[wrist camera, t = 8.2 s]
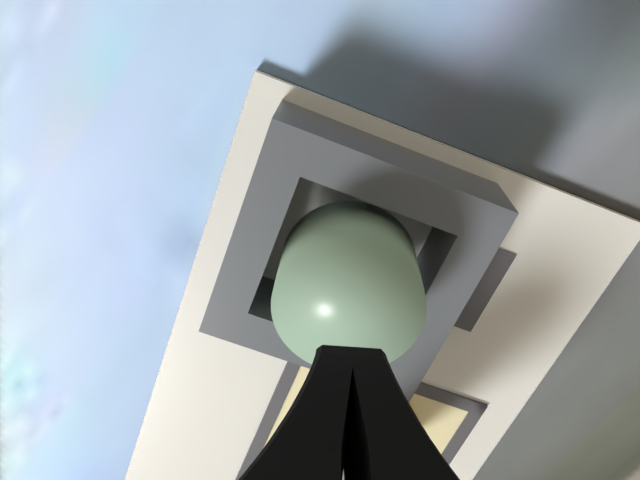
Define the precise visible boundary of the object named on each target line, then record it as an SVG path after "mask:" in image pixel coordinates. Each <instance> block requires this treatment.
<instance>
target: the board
mask: <svg viewBox="0 0 640 480" xmlns="http://www.w3.org/2000/svg"><path fill="white" fill-rule="evenodd" d="M282 100H285V101H287V102H290V103H293V104H295V105H298V106H300V107H303V108H305V109H308V110H311V111H313V112H316V113H318V114H321V115H323V116H326V117H328V118H331V119H334V120H336V121H339V122H341V123H344V124H346V125H349V126H352V127H354V128H357V129H359V130H362V131H364V132H367V133H369V134H372V135H375V136H377V137H380V138H382V139H385V140H387V141H390V142H393V143H395V144H398V145H400V146H403V147H405V148H408V149H411V150H413V151H416V152H418V153H421V154H423V155H426V156H428V157H431V158H434V159H436V160H439V161H441V162H444V163H446V164H449V165H452V166H454V167H457V168H459V169H462V170H464V171H467V172H469V173H472V174H475V175H477V176H480V177H482V178H485V179H487V180H490V181H493V182H495V183H498V185H499V186H500V187H501V189H502V190H503V192H504V193H505V194H506V196H507V197H508V199H509V200H510V202H511V203H512V204H513V206H514V207H515V209H516V210H517V211H518V213H519V214H518V216H517V218H516V219H515V221H514V223H513V225H512V226H511V228H510V230H509V231H508V233H507V235H506V237H505V238H504V240H503V242H502V243H501V245H500V247H499V249H498V250H497V252H496V254H495V255H494V257H493V259H492V261H491V262H490V264H489V266H488V268H487V269H486V271H485V273H484V274H483V276H482V278H481V280H480V281H479V283H478V285H477V286H476V288H475V290H474V292H473V293H472V295H471V297H470V299H469V300H468V302H467V304H466V305H465V307H464V309H463V311H462V312H461V314H460V316H459V317H458V319H457V321H456V323H455V324H454V326H453V328H452V330H451V331H450V333H449V335H448V336H447V338H446V340H445V342H444V343H443V345H442V347H441V348H440V350H439V352H438V354H437V355H436V357H435V359H434V360H433V362H432V364H431V366H430V367H429V369H428V371H427V373H426V374H425V376H424V378H423V379H422V381H421V383H420V385H419V386H418V388H417V390H416V391H415V393H414V395H413V397H412V398H411V400H410V404H411V406H412V409H413V411H414V413H415V414H416V416H417V418H418V419H419V421H420V423H421V425H422V426H423V428H424V429H425V431H426V432H427V434H428V436H429V437H430V439H431V440H432V442H433V443H434V444H435V446H436V447H437V449H438V450H439V452H440V453H441V455H442V456H443V458H444V459H445V460H446V462H447V463H448V464H449V466H450V467H451V469H452V470H453V471H454V472H455V474H456V475H457V476H458V478H459V479H460V480H472V479H473V478H474V476H475V475H476V473H477V472H478V470H479V469H480V468H481V466H482V465H483V463H484V462H485V460H486V459H487V458H488V456H489V455H490V453H491V452H492V450H493V449H494V448H495V446H496V445H497V443H498V442H499V440H500V439H501V438H502V436H503V435H504V433H505V432H506V430H507V429H508V428H509V426H510V425H511V423H512V422H513V420H514V419H515V418H516V416H517V415H518V413H519V412H520V410H521V409H522V407H523V406H524V405H525V403H526V402H527V400H528V399H529V397H530V396H531V395H532V393H533V392H534V390H535V389H536V387H537V386H538V385H539V383H540V382H541V380H542V379H543V377H544V376H545V375H546V373H547V372H548V370H549V369H550V367H551V366H552V365H553V363H554V362H555V360H556V359H557V357H558V356H559V355H560V353H561V352H562V350H563V349H564V347H565V346H566V345H567V343H568V342H569V340H570V339H571V337H572V336H573V335H574V333H575V332H576V330H577V329H578V327H579V326H580V325H581V323H582V322H583V320H584V319H585V317H586V316H587V315H588V313H589V312H590V310H591V309H592V307H593V306H594V305H595V303H596V302H597V300H598V299H599V297H600V296H601V295H602V293H603V292H604V290H605V289H606V287H607V286H608V285H609V283H610V282H611V280H612V279H613V277H614V276H615V274H616V273H617V272H618V270H619V269H620V267H621V266H622V264H623V263H624V262H625V260H626V259H627V257H628V256H629V254H630V253H631V252H632V250H633V249H634V247H635V246H636V244H637V243H638V242H639V240H640V221H639V220H637V219H634V218H632V217H629V216H627V215H624V214H622V213H619V212H617V211H614V210H611V209H609V208H606V207H604V206H601V205H599V204H596V203H594V202H591V201H589V200H586V199H584V198H581V197H578V196H576V195H573V194H571V193H568V192H566V191H563V190H561V189H558V188H556V187H553V186H551V185H548V184H545V183H543V182H540V181H538V180H535V179H533V178H530V177H528V176H525V175H523V174H520V173H518V172H515V171H512V170H510V169H507V168H505V167H502V166H500V165H497V164H495V163H492V162H490V161H487V160H485V159H482V158H479V157H477V156H474V155H472V154H469V153H467V152H464V151H462V150H459V149H457V148H454V147H452V146H449V145H446V144H444V143H441V142H439V141H436V140H434V139H431V138H429V137H426V136H424V135H421V134H419V133H416V132H414V131H411V130H408V129H406V128H403V127H401V126H398V125H396V124H393V123H391V122H388V121H386V120H383V119H381V118H378V117H375V116H373V115H370V114H368V113H365V112H363V111H360V110H358V109H355V108H353V107H350V106H348V105H345V104H342V103H340V102H337V101H335V100H332V99H330V98H327V97H325V96H322V95H320V94H317V93H315V92H312V91H309V90H307V89H304V88H302V87H299V86H297V85H294V84H292V83H289V82H287V81H284V80H282V79H279V78H276V77H274V76H271V75H269V74H266V73H264V72H261V71H259V70H255V72H254V75H253V78H252V81H251V84H250V87H249V91H248V94H247V97H246V100H245V103H244V106H243V109H242V113H241V116H240V119H239V122H238V125H237V128H236V131H235V135H234V138H233V141H232V144H231V147H230V150H229V153H228V157H227V160H226V163H225V166H224V169H223V172H222V175H221V179H220V182H219V185H218V188H217V191H216V194H215V197H214V201H213V204H212V207H211V210H210V213H209V216H208V219H207V223H206V226H205V229H204V232H203V235H202V238H201V241H200V245H199V248H198V251H197V254H196V257H195V260H194V263H193V267H192V270H191V273H190V276H189V279H188V282H187V285H186V289H185V292H184V295H183V298H182V301H181V304H180V307H179V311H178V314H177V317H176V320H175V323H174V326H173V329H172V333H171V336H170V339H169V342H168V345H167V348H166V351H165V355H164V358H163V361H162V364H161V367H160V370H159V373H158V377H157V380H156V383H155V386H154V389H153V392H152V395H151V399H150V402H149V405H148V408H147V411H146V414H145V417H144V421H143V424H142V427H141V430H140V433H139V436H138V439H137V443H136V446H135V449H134V452H133V455H132V458H131V461H130V465H129V468H128V471H127V474H126V477H125V480H238V479H239V478H240V477H241V476H242V475H243V474H244V472H245V471H246V470H247V469H248V467H249V466H250V465H251V464H252V462H253V461H254V460H255V459H256V457H257V456H258V455H259V453H260V452H261V451H262V449H263V448H264V447H265V445H266V444H267V443H268V441H269V440H270V438H271V437H272V435H273V434H274V432H275V431H276V429H277V428H278V426H279V425H280V423H281V422H282V420H283V419H284V417H285V415H286V414H287V412H288V411H289V409H290V407H291V405H292V404H293V402H294V400H295V398H296V396H297V395H298V393H299V391H300V389H301V387H302V385H303V383H304V381H305V379H306V377H307V375H308V373H309V370H310V369H309V368H306V367H303V366H300V365H297V364H294V363H291V362H288V361H285V360H282V359H279V358H276V357H273V356H270V355H267V354H264V353H261V352H258V351H255V350H252V349H249V348H246V347H243V346H240V345H237V344H234V343H231V342H228V341H225V340H222V339H219V338H216V337H213V336H210V335H207V334H204V333H202V332H199V329H200V326H201V323H202V320H203V317H204V314H205V311H206V309H207V306H208V303H209V300H210V297H211V294H212V291H213V288H214V285H215V282H216V279H217V276H218V274H219V271H220V268H221V265H222V262H223V259H224V256H225V253H226V250H227V247H228V244H229V242H230V239H231V236H232V233H233V230H234V227H235V224H236V221H237V218H238V215H239V212H240V210H241V207H242V204H243V201H244V198H245V195H246V192H247V189H248V186H249V183H250V180H251V177H252V175H253V172H254V169H255V166H256V163H257V160H258V157H259V154H260V151H261V148H262V145H263V143H264V140H265V137H266V134H267V131H268V128H269V125H270V122H271V119H272V117H273V115H274V113H275V112H276V110H277V108H278V106H279V104H280V102H281V101H282ZM339 201H358V202H364V203H368V204H371V203H369V202H366V201H363V200H361V199H358V198H355V197H353V196H350V195H347V194H345V193H342V192H339V191H337V190H334V189H331V188H329V187H326V186H323V185H321V184H318V183H315V182H313V181H310V180H307V179H305V178H302V177H300V179H299V181H298V184H297V186H296V189H295V192H294V194H293V197H292V199H291V202H290V205H289V207H288V210H287V212H286V215H285V218H284V220H283V223H282V225H281V228H280V231H279V233H278V236H277V239H276V241H275V244H274V246H273V249H272V252H271V254H270V257H269V259H268V262H267V265H266V267H265V270H264V272H263V275H262V276H264V277H267V278H270V279H273V280H275V279H276V275H277V271H278V267H279V263H280V259H281V255H282V250H283V247H284V244H285V240H286V238H287V236H288V234H289V232H290V231H291V229H292V228H293V226H294V225H295V224H296V223H297V222H298V221H299V220H300V219H301V218H302V217H303V216H305V215H306V214H307V213H309V212H311V211H312V210H314V209H316V208H318V207H320V206H323V205H326V204H329V203H333V202H339ZM371 205H374V204H371ZM375 206H377V205H375ZM377 207H379V206H377ZM379 208H381V209H383V210H385V211H387V212H388V213H390V214H391V215H393V216H394V217H395V218H396V219H397V220H398V221H399V222H400V223H401V224H402V225H403V226H404V228H405V229H406V230H407V232H408V234H409V236H410V238H411V239H412V242H413V245H414V249H415V253H416V257H417V256H418V254H419V253H420V251H421V249H422V247H423V245H424V243H425V241H426V239H427V237H428V235H429V233H430V231H431V229H432V227H433V226H430V225H427V224H425V223H422V222H419V221H417V220H414V219H411V218H409V217H406V216H403V215H401V214H398V213H395V212H393V211H390V210H387V209H385V208H382V207H379Z"/></svg>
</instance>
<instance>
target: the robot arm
mask: <svg viewBox="0 0 640 480" xmlns="http://www.w3.org/2000/svg"><path fill="white" fill-rule="evenodd" d="M343 469H344V480H460V479H459V478H458V476H457V475H456V474H455V472H454V471H453V470H452V469H451V467H450V466H449V464H448V463H447V462H446V460H445V459H444V458H443V456H442V455H441V453H440V452H439V450H438V449H437V447H436V446H435V444H434V443H433V442H432V440H431V439H430V437H429V436H428V434H427V432H426V431H425V429H424V428H423V426H422V425H421V423H420V421H419V419H418V418H417V416H416V414H415V413H414V411H413V409H412V408H411V406H410V404H409V402H408V401H407V399H406V397H405V395H404V393H403V391H402V389H401V387H400V386H399V384H398V382H397V380H396V377H395V375H394V373H393V371H392V369H391V367H390V364H389V362H388V359H387V356H386V354H385V353H384V352H383V350H382V349H378V348H363V347H349V346H334V345H321V346H320V347H318V348H317V349H316V353H315V357H314V360H313V363H312V366H311V368H310V370H309V373H308V375H307V377H306V379H305V381H304V383H303V385H302V387H301V389H300V391H299V393H298V395H297V396H296V398H295V400H294V402H293V404H292V405H291V407H290V409H289V411H288V412H287V414H286V415H285V417H284V419H283V420H282V422H281V423H280V425H279V426H278V428H277V429H276V431H275V432H274V434H273V435H272V437H271V438H270V440H269V441H268V443H267V444H266V445H265V447H264V448H263V449H262V451H261V452H260V453H259V455H258V456H257V457H256V459H255V460H254V461H253V462H252V464H251V465H250V466H249V467H248V469H247V470H246V471H245V472H244V474H243V475H242V476H241V477H240V478H239V479H238V480H342V477H343Z"/></svg>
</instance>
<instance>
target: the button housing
mask: <svg viewBox="0 0 640 480" xmlns="http://www.w3.org/2000/svg"><path fill="white" fill-rule="evenodd" d="M300 177H302V178H305V179H307V180H310V181H313V182H315V183H318V184H321V185H323V186H326V187H329V188H331V189H334V190H337V191H339V192H342V193H345V194H347V195H350V196H353V197H355V198H358V199H361V200H363V201H366V202H369V203H371V204H374V205H377V206H379V207H382V208H385V209H387V210H390V211H393V212H395V213H398V214H401V215H403V216H406V217H409V218H411V219H414V220H417V221H419V222H422V223H425V224H427V225H430V226H433V227H432V229H431V231H430V233H429V235H428V237H427V239H426V241H425V243H424V245H423V247H422V249H421V251H420V253H419V254H418V256H417V261H418V265H419V270H420V274H421V278H422V282H423V286H424V291H425V296H426V303H427V311H426V318H425V322H424V325H423V328H422V330H421V332H420V335H419V336H418V338H417V339H416V341H415V342H414V344H413V345H412V346H411V347H410V348H409V349H408V350H407V351H406V352H405V353H404V354H403V355H402V356H400V357H399V358H397V359H396V360H394V361H393V362H391V363H389V364H390V367H391V369H392V371H393V373H394V375H395V377H396V380H397V382H398V384H399V386H400V387H401V389H402V391H403V393H404V395H405V397H406V399H407V401H408V402H410V400H411V398H412V397H413V395H414V393H415V391H416V390H417V388H418V386H419V385H420V383H421V381H422V379H423V378H424V376H425V374H426V373H427V371H428V369H429V367H430V366H431V364H432V362H433V360H434V359H435V357H436V355H437V354H438V352H439V350H440V348H441V347H442V345H443V343H444V342H445V340H446V338H447V336H448V335H449V333H450V331H451V330H452V328H453V326H454V324H455V323H456V321H457V319H458V317H459V316H460V314H461V312H462V311H463V309H464V307H465V305H466V304H467V302H468V300H469V299H470V297H471V295H472V293H473V292H474V290H475V288H476V286H477V285H478V283H479V281H480V280H481V278H482V276H483V274H484V273H485V271H486V269H487V268H488V266H489V264H490V262H491V261H492V259H493V257H494V255H495V254H496V252H497V250H498V249H499V247H500V245H501V243H502V242H503V240H504V238H505V237H506V235H507V233H508V231H509V230H510V228H511V226H512V225H513V223H514V221H515V219H516V218H517V216H518V214H519V213H518V211H517V210H516V209H515V207H514V206H513V204H512V203H511V202H510V200H509V199H508V197H507V196H506V194H505V193H504V192H503V190H502V189H501V187H500V186H499V185H498V183H495V182H493V181H490V180H487V179H485V178H482V177H480V176H477V175H475V174H472V173H469V172H467V171H464V170H462V169H459V168H457V167H454V166H452V165H449V164H446V163H444V162H441V161H439V160H436V159H434V158H431V157H428V156H426V155H423V154H421V153H418V152H416V151H413V150H411V149H408V148H405V147H403V146H400V145H398V144H395V143H393V142H390V141H387V140H385V139H382V138H380V137H377V136H375V135H372V134H369V133H367V132H364V131H362V130H359V129H357V128H354V127H352V126H349V125H346V124H344V123H341V122H339V121H336V120H334V119H331V118H328V117H326V116H323V115H321V114H318V113H316V112H313V111H311V110H308V109H305V108H303V107H300V106H298V105H295V104H293V103H290V102H287V101H285V100H282V101H281V102H280V104H279V106H278V108H277V110H276V112H275V113H274V115H273V117H272V119H271V122H270V125H269V128H268V131H267V134H266V137H265V140H264V143H263V145H262V148H261V151H260V154H259V157H258V160H257V163H256V166H255V169H254V172H253V175H252V177H251V180H250V183H249V186H248V189H247V192H246V195H245V198H244V201H243V204H242V207H241V210H240V212H239V215H238V218H237V221H236V224H235V227H234V230H233V233H232V236H231V239H230V242H229V244H228V247H227V250H226V253H225V256H224V259H223V262H222V265H221V268H220V271H219V274H218V276H217V279H216V282H215V285H214V288H213V291H212V294H211V297H210V300H209V303H208V306H207V309H206V311H205V314H204V317H203V320H202V323H201V326H200V329H199V332H202V333H204V334H207V335H210V336H213V337H216V338H219V339H222V340H225V341H228V342H231V343H234V344H237V345H240V346H243V347H246V348H249V349H252V350H255V351H258V352H261V353H264V354H267V355H270V356H273V357H276V358H279V359H282V360H285V361H288V362H291V363H294V364H297V365H300V366H303V367H306V368H309V369H310V368H311V366H312V364H310V363H308V362H306V361H304V360H303V359H301V358H300V357H298V356H297V355H296V354H294V353H293V352H292V351H291V350H290V349H289V348H288V347H287V346H286V345H285V343H284V342H283V341H282V339H281V338H280V336H279V335H278V333H277V331H276V328H275V326H274V323H273V320H272V314H271V297H272V291H273V287H274V283H275V280H273V279H270V278H267V277H264V276H262V275H263V272H264V270H265V267H266V265H267V262H268V259H269V257H270V254H271V252H272V249H273V246H274V244H275V241H276V239H277V236H278V233H279V231H280V228H281V225H282V223H283V220H284V218H285V215H286V212H287V210H288V207H289V205H290V202H291V199H292V197H293V194H294V192H295V189H296V186H297V184H298V181H299V179H300Z"/></svg>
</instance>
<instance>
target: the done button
mask: <svg viewBox="0 0 640 480" xmlns="http://www.w3.org/2000/svg"><path fill="white" fill-rule="evenodd" d="M426 311H427V303H426V296H425V291H424V286H423V282H422V278H421V274H420V270H419V265H418V261H417V257H416V253H415V249H414V245H413V242H412V239H411V238H410V236H409V234H408V232H407V230H406V229H405V228H404V226H403V225H402V224H401V223H400V222H399V221H398V220H397V219H396V218H395V217H394V216H393V215H391V214H390V213H388V212H387V211H385V210H383V209H381V208H379V207H377V206H375V205H371V204H368V203H364V202H358V201H339V202H333V203H329V204H326V205H323V206H320V207H318V208H316V209H314V210H312V211H311V212H309V213H307V214H306V215H305V216H303V217H302V218H301V219H300V220H299V221H298V222H297V223H296V224H295V225H294V226H293V228H292V229H291V231H290V232H289V234H288V236H287V238H286V240H285V244H284V247H283V250H282V255H281V259H280V263H279V267H278V271H277V275H276V279H275V283H274V287H273V291H272V297H271V314H272V320H273V323H274V326H275V328H276V331H277V333H278V335H279V336H280V338H281V339H282V341H283V342H284V343H285V345H286V346H287V347H288V348H289V349H290V350H291V351H292V352H293V353H294V354H296V355H297V356H298V357H300V358H301V359H303V360H304V361H306V362H308V363H310V364H312V363H313V360H314V357H315V353H316V349H317V348H318V347H320V346H321V345H334V346H349V347H363V348H378V349H382V350H383V352H384V353H385V354H386V356H387V359H388V362H389V363H391V362H393V361H394V360H396V359H397V358H399V357H400V356H402V355H403V354H404V353H405V352H406V351H407V350H408V349H409V348H410V347H411V346H412V345H413V344H414V342H415V341H416V339H417V338H418V336H419V335H420V332H421V330H422V328H423V325H424V322H425V318H426Z"/></svg>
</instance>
